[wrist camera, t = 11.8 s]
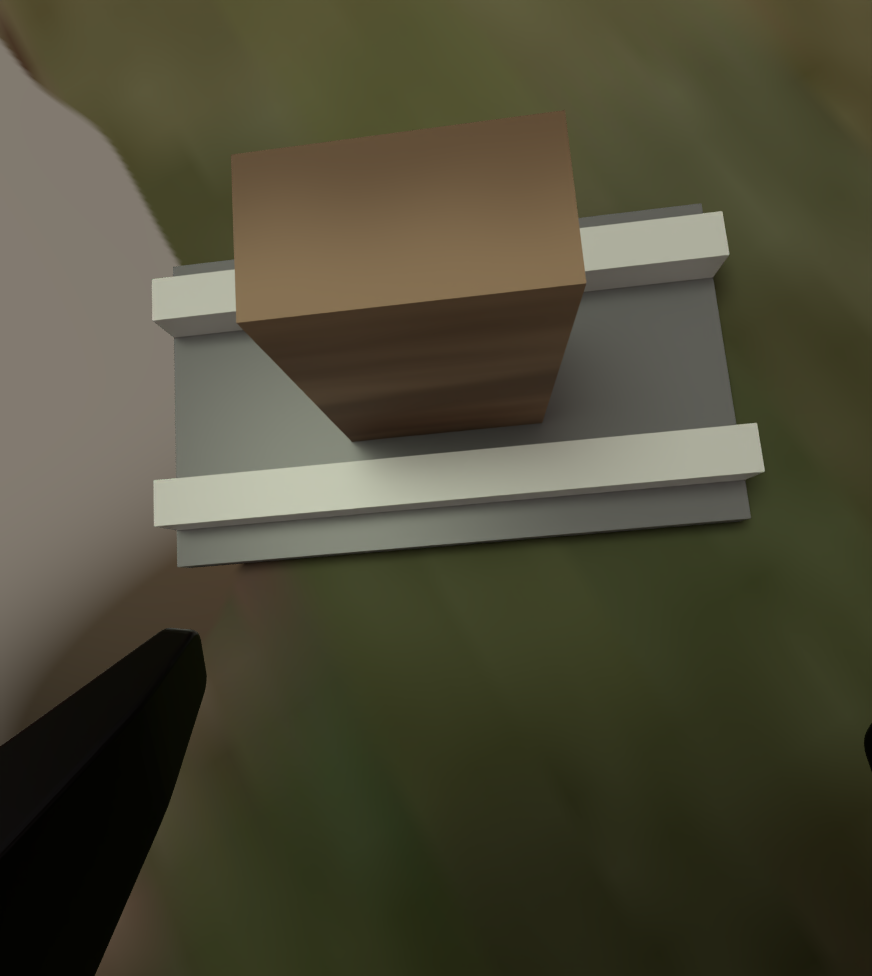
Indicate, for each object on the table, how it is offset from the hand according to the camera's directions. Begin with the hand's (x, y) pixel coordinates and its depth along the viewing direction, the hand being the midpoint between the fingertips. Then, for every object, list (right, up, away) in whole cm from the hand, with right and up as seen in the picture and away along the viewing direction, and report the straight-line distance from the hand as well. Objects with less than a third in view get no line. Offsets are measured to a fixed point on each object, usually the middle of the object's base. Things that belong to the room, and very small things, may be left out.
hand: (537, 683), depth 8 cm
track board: (-1, +6, +14) cm, 16 cm away
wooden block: (-1, +6, +13) cm, 15 cm away
